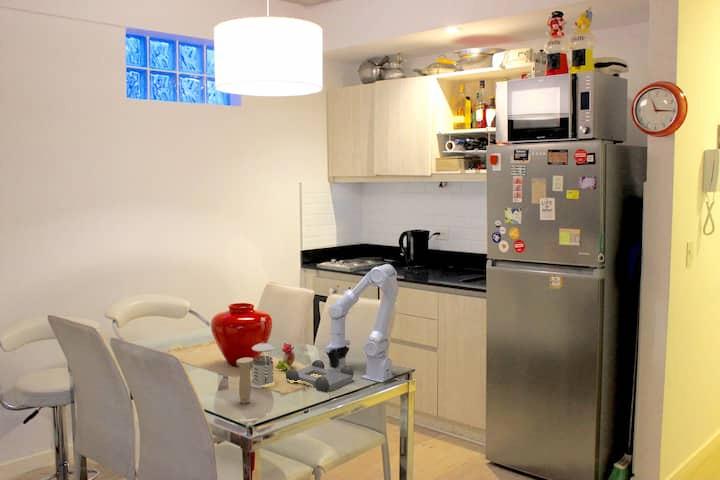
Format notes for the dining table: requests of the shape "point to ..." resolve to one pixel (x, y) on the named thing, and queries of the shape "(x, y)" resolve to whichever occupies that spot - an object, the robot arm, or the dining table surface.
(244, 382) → the handle
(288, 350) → the bird rattle
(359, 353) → the dining table surface
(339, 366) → the beige block
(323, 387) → the chassis
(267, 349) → the french press
